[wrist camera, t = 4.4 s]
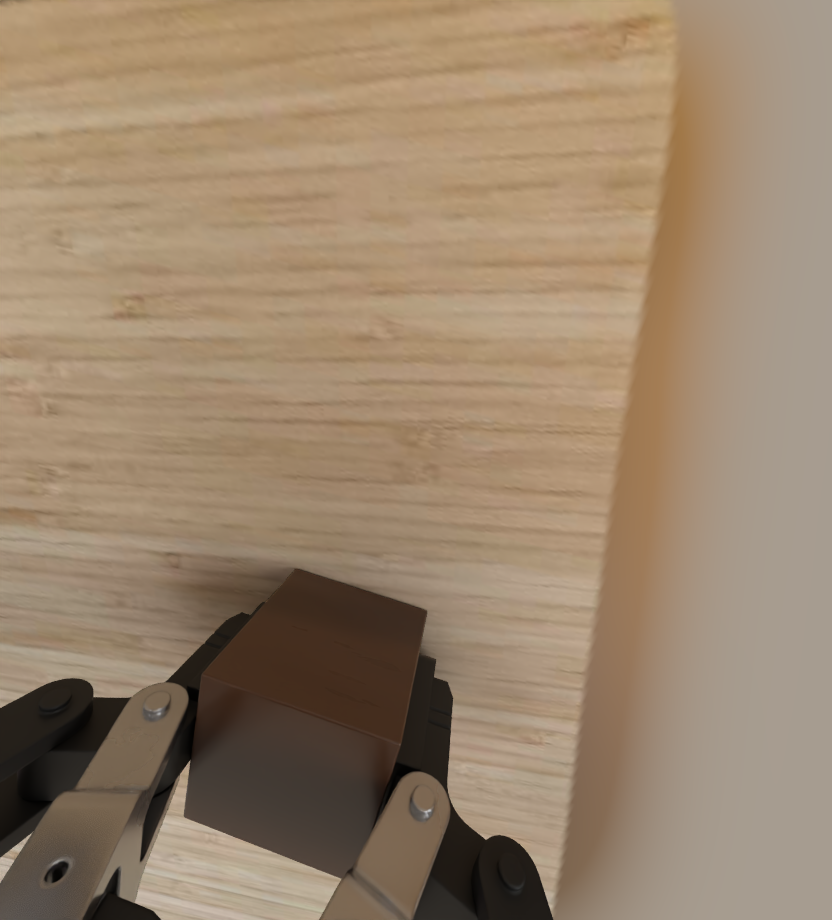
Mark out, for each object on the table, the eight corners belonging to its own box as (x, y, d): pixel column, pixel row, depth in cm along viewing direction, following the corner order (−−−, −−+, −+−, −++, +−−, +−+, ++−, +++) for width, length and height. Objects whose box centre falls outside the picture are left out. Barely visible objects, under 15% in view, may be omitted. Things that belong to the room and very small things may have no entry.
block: (295, 567, 12) (200, 673, 8) (427, 610, 12) (401, 745, 8) (274, 675, 14) (182, 818, 9) (395, 717, 13) (356, 885, 9)
